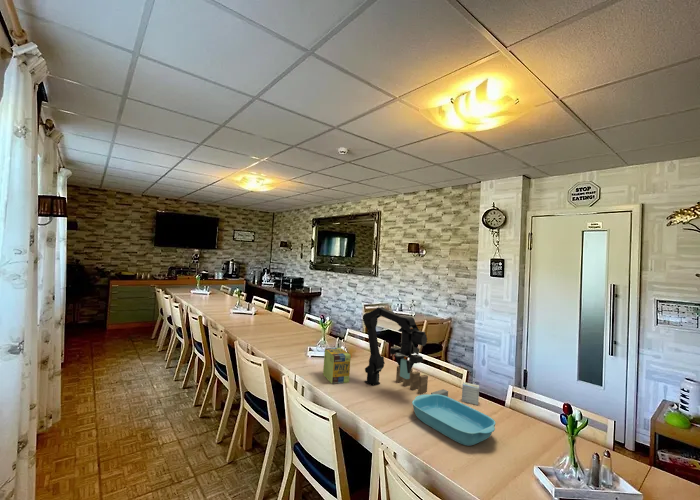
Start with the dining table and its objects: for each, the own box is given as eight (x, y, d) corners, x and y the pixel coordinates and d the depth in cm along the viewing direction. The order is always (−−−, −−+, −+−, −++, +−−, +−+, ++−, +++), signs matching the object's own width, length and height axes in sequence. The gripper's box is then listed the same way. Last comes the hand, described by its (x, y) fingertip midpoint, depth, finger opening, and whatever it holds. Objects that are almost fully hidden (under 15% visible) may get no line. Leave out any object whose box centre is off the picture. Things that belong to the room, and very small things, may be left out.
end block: (435, 404, 157) (435, 395, 157) (430, 401, 159) (430, 392, 159) (447, 400, 163) (448, 391, 163) (442, 397, 165) (443, 389, 165)
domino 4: (426, 392, 170) (427, 375, 171) (420, 394, 167) (421, 377, 168) (424, 391, 172) (425, 374, 172) (417, 392, 169) (418, 376, 169)
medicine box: (478, 402, 163) (479, 385, 163) (478, 405, 159) (479, 388, 159) (462, 398, 166) (463, 381, 166) (461, 401, 162) (462, 384, 162)
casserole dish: (401, 414, 145) (402, 398, 145) (433, 403, 158) (434, 389, 158) (473, 458, 115) (474, 438, 115) (506, 441, 128) (507, 423, 128)
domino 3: (419, 388, 175) (420, 372, 175) (412, 390, 172) (413, 373, 172) (416, 387, 176) (417, 371, 177) (410, 389, 173) (411, 372, 174)
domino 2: (411, 385, 179) (412, 369, 179) (405, 386, 176) (406, 370, 176) (409, 383, 181) (409, 368, 181) (402, 385, 178) (403, 369, 178)
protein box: (331, 384, 172) (333, 356, 173) (322, 374, 186) (324, 348, 187) (349, 382, 177) (351, 354, 177) (339, 372, 191) (340, 347, 191)
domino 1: (404, 381, 184) (405, 366, 184) (398, 383, 181) (399, 367, 181) (402, 380, 185) (403, 365, 186) (395, 382, 182) (396, 366, 183)
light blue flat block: (406, 379, 162) (407, 361, 162) (399, 376, 166) (400, 358, 166) (409, 378, 163) (410, 361, 164) (402, 375, 167) (403, 358, 168)
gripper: (431, 344, 163) (429, 374, 162) (404, 335, 178) (402, 363, 177) (416, 346, 156) (414, 378, 156) (390, 337, 171) (388, 366, 171)
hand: (404, 371), depth 165 cm, fingers closed on light blue flat block, 5 cm apart
